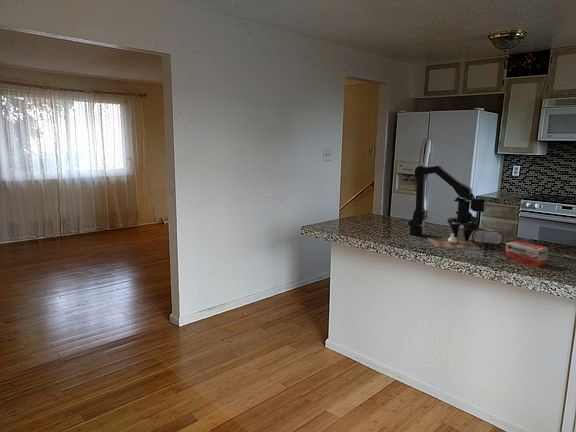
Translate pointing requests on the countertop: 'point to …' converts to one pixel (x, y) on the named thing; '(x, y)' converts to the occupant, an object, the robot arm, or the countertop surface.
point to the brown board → (444, 243)
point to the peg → (452, 239)
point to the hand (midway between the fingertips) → (461, 239)
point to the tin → (487, 236)
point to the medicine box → (526, 253)
